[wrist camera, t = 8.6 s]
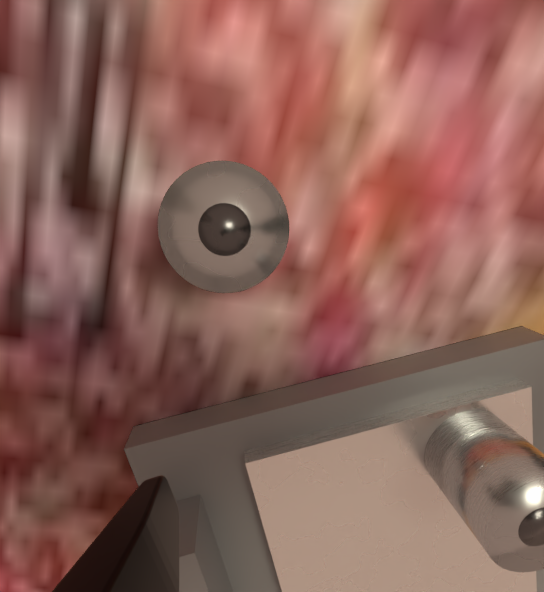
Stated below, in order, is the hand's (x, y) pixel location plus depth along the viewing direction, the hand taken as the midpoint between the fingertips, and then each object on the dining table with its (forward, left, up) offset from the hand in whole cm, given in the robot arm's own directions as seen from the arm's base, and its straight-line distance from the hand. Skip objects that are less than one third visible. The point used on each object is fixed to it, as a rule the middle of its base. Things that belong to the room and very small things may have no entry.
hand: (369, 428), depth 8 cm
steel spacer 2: (-8, +11, -10) cm, 16 cm away
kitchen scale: (-2, +16, -13) cm, 20 cm away
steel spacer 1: (+2, -4, -13) cm, 13 cm away
